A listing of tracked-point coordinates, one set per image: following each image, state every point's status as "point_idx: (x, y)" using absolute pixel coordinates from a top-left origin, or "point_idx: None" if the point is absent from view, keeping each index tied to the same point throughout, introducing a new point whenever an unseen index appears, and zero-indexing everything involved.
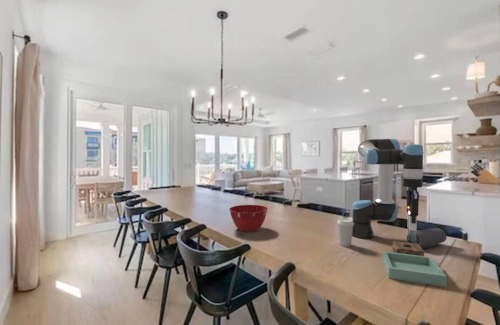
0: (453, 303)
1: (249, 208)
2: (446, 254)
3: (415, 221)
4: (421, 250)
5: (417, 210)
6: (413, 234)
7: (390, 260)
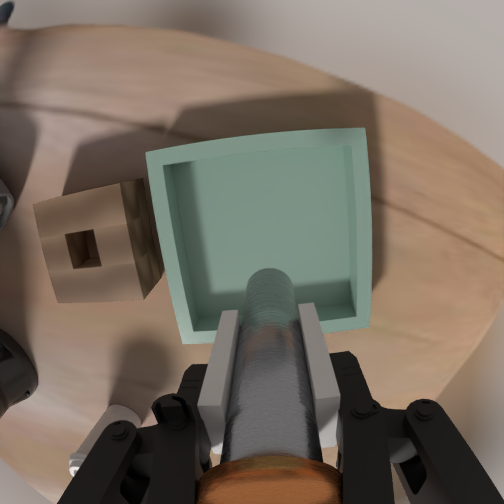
0: (450, 147)
1: None
2: (20, 104)
3: (358, 366)
4: (109, 193)
5: (467, 456)
6: (295, 303)
7: (205, 305)
